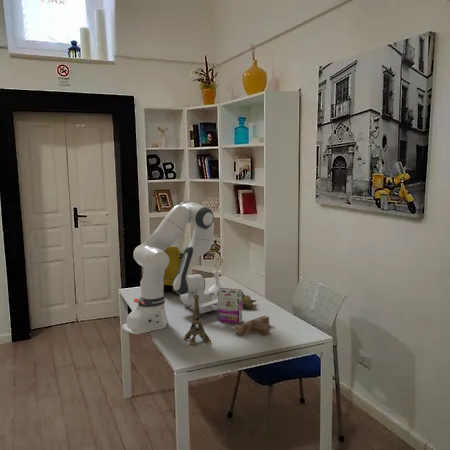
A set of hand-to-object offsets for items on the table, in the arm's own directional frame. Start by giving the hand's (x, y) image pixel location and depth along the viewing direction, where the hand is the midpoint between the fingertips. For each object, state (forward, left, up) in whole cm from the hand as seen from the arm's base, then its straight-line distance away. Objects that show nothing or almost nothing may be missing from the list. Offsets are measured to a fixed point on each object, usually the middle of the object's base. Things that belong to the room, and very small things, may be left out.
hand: (220, 308), depth 231 cm
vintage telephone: (+11, +54, -5) cm, 55 cm away
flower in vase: (+27, +33, -5) cm, 43 cm away
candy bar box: (0, -7, -5) cm, 9 cm away
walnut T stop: (0, -27, -5) cm, 27 cm away
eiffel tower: (-27, -14, -5) cm, 31 cm away
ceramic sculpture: (+20, +5, -5) cm, 22 cm away
